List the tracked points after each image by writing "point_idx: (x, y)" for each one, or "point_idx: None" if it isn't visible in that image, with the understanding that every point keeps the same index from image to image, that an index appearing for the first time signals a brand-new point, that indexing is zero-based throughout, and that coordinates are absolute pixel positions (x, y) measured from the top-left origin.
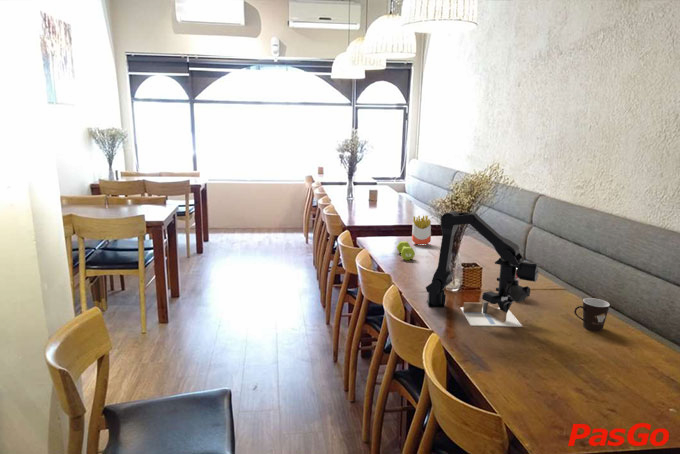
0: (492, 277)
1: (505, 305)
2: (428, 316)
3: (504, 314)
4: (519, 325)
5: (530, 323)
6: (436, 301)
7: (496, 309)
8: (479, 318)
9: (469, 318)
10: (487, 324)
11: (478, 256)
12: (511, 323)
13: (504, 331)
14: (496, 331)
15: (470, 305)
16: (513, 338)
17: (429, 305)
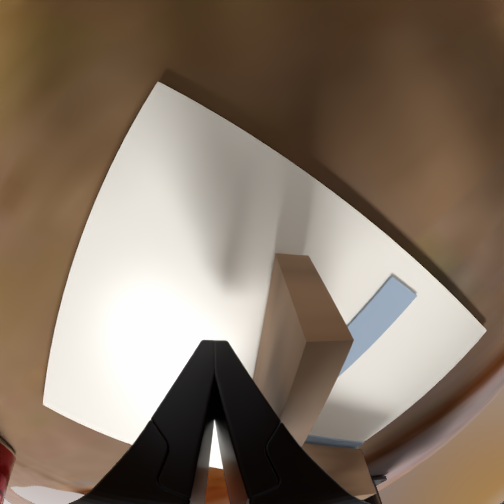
0: (12, 478)
1: (294, 482)
2: (461, 426)
3: (344, 322)
4: (184, 102)
5: (16, 122)
6: (374, 496)
7: (302, 438)
8: (372, 388)
9: (412, 397)
10: (436, 297)
11: (14, 497)
12: (229, 197)
13: (438, 127)
14: (477, 176)
15: (348, 484)
16: (469, 12)
17: (381, 481)
